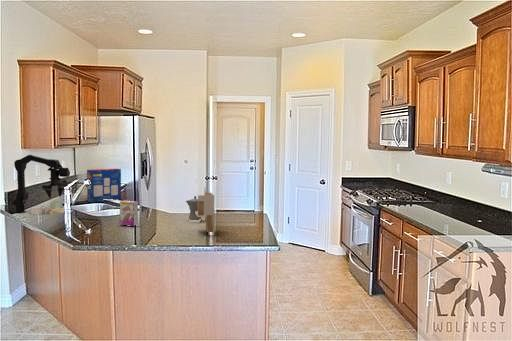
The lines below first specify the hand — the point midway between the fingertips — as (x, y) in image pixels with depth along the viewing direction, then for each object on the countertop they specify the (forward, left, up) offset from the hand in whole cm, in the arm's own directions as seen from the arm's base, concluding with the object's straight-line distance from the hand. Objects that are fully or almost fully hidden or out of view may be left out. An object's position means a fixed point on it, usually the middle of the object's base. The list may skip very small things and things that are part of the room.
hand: (55, 197), depth 318 cm
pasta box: (-12, +67, -12) cm, 69 cm away
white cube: (-10, -8, -12) cm, 18 cm away
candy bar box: (+76, -11, -12) cm, 78 cm away
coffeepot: (+108, +22, -12) cm, 111 cm away
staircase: (+130, -6, -13) cm, 131 cm away
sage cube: (0, 0, -8) cm, 8 cm away
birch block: (0, 0, -12) cm, 12 cm away
